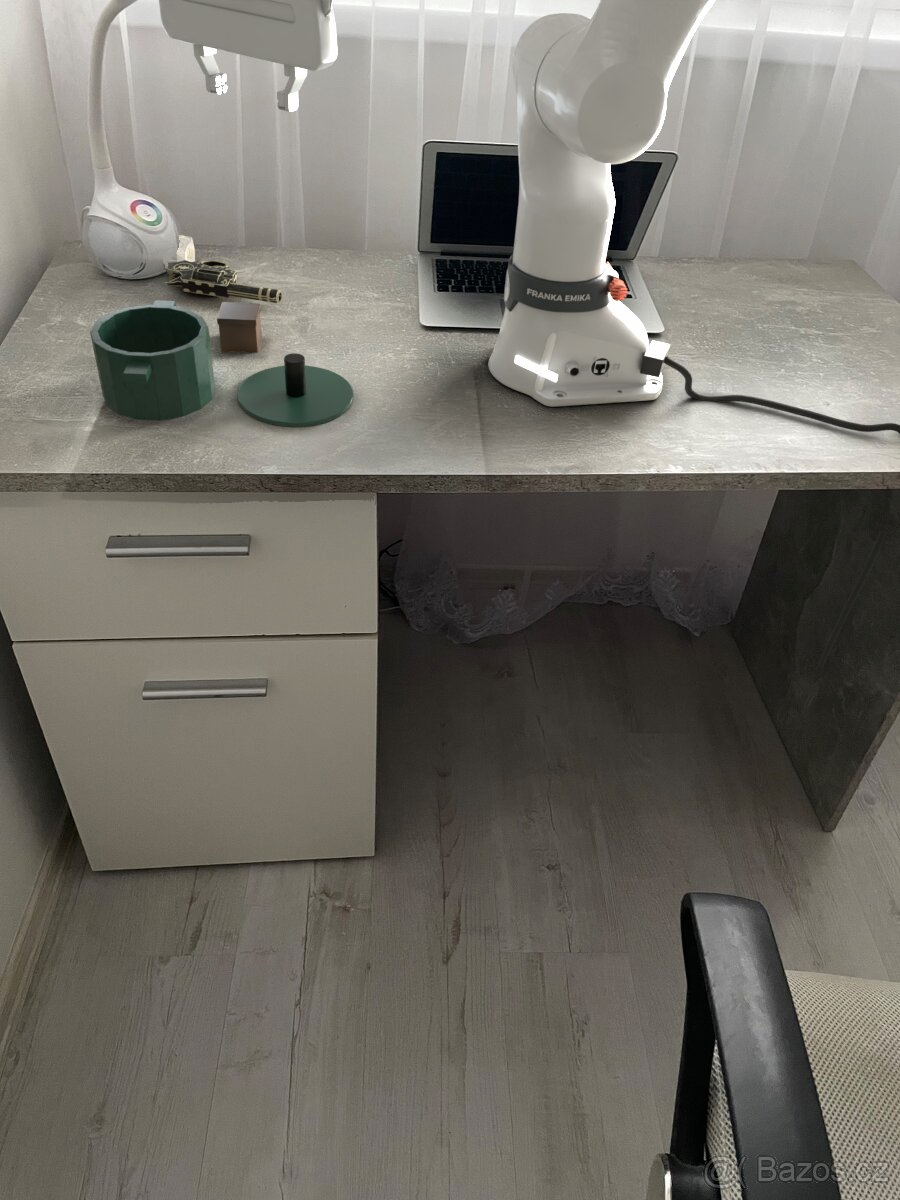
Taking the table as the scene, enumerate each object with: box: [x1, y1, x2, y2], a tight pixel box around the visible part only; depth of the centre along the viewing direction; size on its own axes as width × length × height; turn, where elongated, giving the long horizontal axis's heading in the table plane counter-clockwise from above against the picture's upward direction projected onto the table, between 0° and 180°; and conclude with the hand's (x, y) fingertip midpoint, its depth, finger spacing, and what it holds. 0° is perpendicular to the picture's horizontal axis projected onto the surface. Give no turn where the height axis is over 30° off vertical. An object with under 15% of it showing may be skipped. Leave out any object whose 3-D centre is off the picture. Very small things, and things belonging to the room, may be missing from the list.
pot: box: [89, 299, 216, 421], centre depth 109 cm, size 13×18×8 cm
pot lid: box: [237, 352, 354, 428], centre depth 112 cm, size 14×14×6 cm
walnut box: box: [216, 301, 263, 354], centre depth 121 cm, size 5×5×5 cm
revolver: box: [164, 234, 282, 304], centre depth 135 cm, size 4×21×12 cm
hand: (252, 101), depth 102 cm, fingers open, 8 cm apart
